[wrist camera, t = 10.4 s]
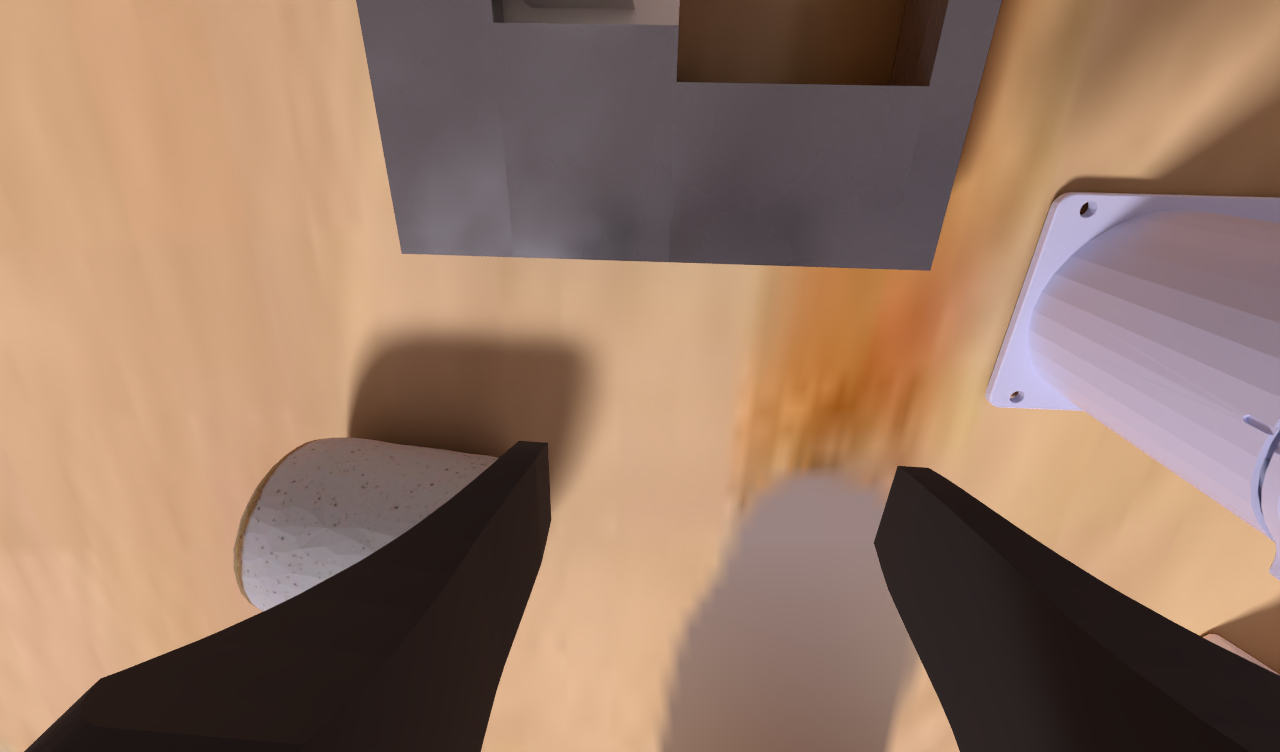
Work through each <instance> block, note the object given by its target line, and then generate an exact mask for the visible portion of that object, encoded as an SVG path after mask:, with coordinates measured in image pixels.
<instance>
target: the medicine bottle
mask: <svg viewBox="0 0 1280 752" xmlns="http://www.w3.org/2000/svg"><path fill="white" fill-rule="evenodd" d="M1203 638H1205V639H1207V640H1208V641H1210V642H1212V643H1214V644H1216V645H1219V646H1221V647H1223V648H1225V649H1227V650H1229V651H1231V652H1233V653H1235V654H1237V655H1239V656H1241V657H1243V658H1245V659H1247V660H1249V661H1251V662H1253V663H1255V664H1257V665H1259V666H1261V667H1263V668H1265V669H1267V670H1269V671H1271V672H1273V673H1275V674H1278V673H1277V672H1275V671H1273V670H1272V669H1270V668H1269V667H1267V666H1266V665H1264V664H1263V663H1261V662H1259V661H1258V660H1256V659H1255V658H1253V657H1252V656H1250V655H1248V654H1247V653H1245V652H1244V651H1242V650H1241V649H1239V648H1238V647H1236V646H1234V645H1233V644H1231V643H1230V642H1228V641H1227V640H1225V639H1224V638H1222V637H1220V636H1219V635H1216V634H1207V635H1205V636H1204V637H1203ZM1278 675H1280V674H1278Z"/></svg>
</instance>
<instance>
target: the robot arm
mask: <svg viewBox="0 0 1280 752" xmlns="http://www.w3.org/2000/svg"><path fill="white" fill-rule="evenodd" d="M1087 202H1088V204H1089V206H1088V209H1087V211H1086V212H1085V213H1084V214H1082V215H1080V209H1081V207H1082V206H1083V205H1084V204H1085V203H1087ZM1016 391H1018V394H1017V395H1016V396H1015V397H1013V398H1010V396H1011V395H1012V394H1013V393H1014V392H1016ZM985 397H986V399H987V401H989V402H990V403H991V404H992V405H994V406H996V407H1006V408H1029V409H1052V410H1076V411H1085V412H1086V413H1088V414H1089V415H1091V416H1092V417H1094V418H1095V419H1097V420H1098V421H1099V422H1101V423H1102V424H1104V425H1105V426H1107V427H1108V428H1110V429H1111V430H1113V431H1114V432H1116V433H1117V434H1118V435H1120V436H1121V437H1123V438H1124V439H1126V440H1127V441H1129V442H1130V443H1132V444H1133V445H1134V446H1136V447H1137V448H1139V449H1140V450H1142V451H1143V452H1145V453H1146V454H1148V455H1149V456H1150V457H1152V458H1153V459H1155V460H1156V461H1158V462H1159V463H1161V464H1162V465H1164V466H1165V467H1167V468H1168V469H1169V470H1171V471H1172V472H1174V473H1175V474H1177V475H1178V476H1180V477H1181V478H1183V479H1184V480H1185V481H1187V482H1188V483H1190V484H1191V485H1193V486H1194V487H1196V488H1197V489H1199V490H1200V491H1201V492H1203V493H1204V494H1206V495H1207V496H1209V497H1210V498H1212V499H1213V500H1215V501H1216V502H1218V503H1219V504H1220V505H1222V506H1223V507H1225V508H1226V509H1228V510H1229V511H1231V512H1232V513H1234V514H1235V515H1236V516H1238V517H1239V518H1241V519H1242V520H1244V521H1245V522H1247V523H1248V524H1250V525H1251V526H1253V527H1254V528H1255V529H1257V530H1258V531H1260V532H1261V533H1263V534H1264V535H1266V536H1267V537H1269V538H1270V539H1271V540H1273V541H1275V543H1276V555H1275V559H1274V561H1273V563H1272V565H1271V567H1270V570H1269V573H1270V574H1272V575H1273V576H1274V577H1276V578H1277V579H1278V580H1280V197H1246V196H1207V195H1169V194H1130V193H1091V192H1068V193H1064V194H1062V195H1060V196H1059V197H1057V198H1056V199H1055V200H1054V201H1053V203H1052V205H1051V207H1050V209H1049V212H1048V215H1047V218H1046V221H1045V224H1044V227H1043V230H1042V232H1041V235H1040V238H1039V241H1038V244H1037V247H1036V250H1035V252H1034V255H1033V258H1032V261H1031V264H1030V267H1029V270H1028V272H1027V275H1026V278H1025V281H1024V284H1023V287H1022V290H1021V293H1020V295H1019V298H1018V301H1017V304H1016V307H1015V310H1014V313H1013V315H1012V318H1011V321H1010V324H1009V327H1008V330H1007V333H1006V335H1005V338H1004V341H1003V344H1002V347H1001V350H1000V353H999V356H998V358H997V361H996V364H995V367H994V370H993V373H992V376H991V378H990V381H989V384H988V387H987V390H986V394H985ZM550 523H551V505H550V483H549V461H548V443H541V442H525V441H518V442H517V443H516V444H515V445H514V446H512V447H511V448H510V449H509V450H508V451H506V452H505V453H504V454H503V455H502V456H501V457H500V458H498V459H497V460H496V461H495V462H494V463H493V464H492V465H490V466H489V467H488V468H487V469H486V470H485V471H483V472H482V473H481V474H480V475H479V476H478V477H476V478H475V479H474V480H473V481H472V482H470V483H469V484H468V485H467V486H466V487H464V488H463V489H462V490H461V491H460V492H458V493H457V494H456V495H455V496H453V497H452V498H451V499H450V500H448V501H447V502H446V503H444V504H443V505H442V506H440V507H439V508H438V509H436V510H435V511H434V512H432V513H431V514H430V515H428V516H427V517H426V518H424V519H423V520H422V521H420V522H419V523H418V524H416V525H415V526H414V527H412V528H411V529H409V530H408V531H406V532H405V533H403V534H402V535H400V536H399V537H397V538H396V539H394V540H393V541H391V542H390V543H388V544H387V545H385V546H383V547H382V548H380V549H379V550H377V551H375V552H374V553H372V554H370V555H369V556H367V557H366V558H364V559H362V560H361V561H359V562H357V563H356V564H354V565H352V566H350V567H348V568H347V569H345V570H343V571H341V572H339V573H337V574H335V575H334V576H332V577H330V578H328V579H326V580H324V581H323V582H321V583H319V584H317V585H315V586H313V587H312V588H310V589H308V590H306V591H304V592H302V593H300V594H299V595H297V596H295V597H293V598H291V599H289V600H286V601H284V602H282V603H280V604H278V605H276V606H274V607H272V608H270V609H268V610H266V611H264V612H262V613H259V614H257V615H255V616H253V617H251V618H248V619H246V620H244V621H242V622H240V623H237V624H235V625H233V626H231V627H229V628H226V629H224V630H222V631H219V632H217V633H215V634H212V635H210V636H208V637H205V638H203V639H201V640H198V641H196V642H193V643H191V644H188V645H186V646H183V647H181V648H178V649H176V650H173V651H171V652H168V653H166V654H163V655H161V656H158V657H156V658H153V659H151V660H148V661H145V662H143V663H140V664H138V665H135V666H133V667H130V668H128V669H125V670H123V671H120V672H117V673H115V674H112V675H109V676H107V677H104V678H101V679H100V680H99V681H97V682H96V683H95V684H94V685H93V686H92V687H91V688H90V689H89V690H88V691H87V692H86V693H85V694H84V695H83V696H82V697H81V698H80V699H78V700H77V701H76V702H75V703H74V704H73V705H72V706H71V707H70V708H69V709H68V710H67V711H66V712H65V713H64V714H63V715H62V716H61V717H60V718H59V719H58V720H57V721H56V722H55V723H53V724H52V725H51V726H50V727H49V728H48V729H47V730H46V731H45V732H44V733H43V734H42V735H41V736H40V737H39V738H38V739H37V740H36V741H35V742H34V743H33V744H32V745H31V746H30V747H29V748H27V749H26V750H25V751H24V752H481V748H482V744H483V740H484V736H485V733H486V729H487V725H488V721H489V717H490V713H491V710H492V706H493V702H494V698H495V694H496V691H497V687H498V684H499V681H500V678H501V675H502V672H503V669H504V665H505V663H506V660H507V657H508V654H509V652H510V649H511V646H512V643H513V641H514V638H515V635H516V632H517V630H518V627H519V624H520V621H521V619H522V616H523V613H524V610H525V608H526V605H527V602H528V599H529V597H530V594H531V591H532V588H533V585H534V583H535V580H536V577H537V574H538V571H539V568H540V566H541V562H542V558H543V554H544V550H545V545H546V541H547V536H548V532H549V527H550ZM874 544H875V548H876V551H877V555H878V558H879V562H880V565H881V569H882V572H883V574H884V578H885V581H886V584H887V587H888V590H889V592H890V594H891V596H892V599H893V601H894V603H895V605H896V608H897V610H898V612H899V614H900V616H901V619H902V621H903V623H904V625H905V627H906V629H907V632H908V634H909V636H910V638H911V640H912V642H913V644H914V646H915V649H916V651H917V653H918V655H919V657H920V659H921V661H922V663H923V666H924V668H925V670H926V672H927V674H928V676H929V678H930V681H931V683H932V685H933V687H934V689H935V691H936V693H937V695H938V698H939V700H940V702H941V704H942V707H943V709H944V711H945V714H946V716H947V719H948V721H949V723H950V726H951V728H952V731H953V733H954V736H955V739H956V742H957V745H958V747H959V750H960V752H1280V675H1278V674H1275V673H1273V672H1271V671H1269V670H1267V669H1265V668H1263V667H1261V666H1259V665H1257V664H1255V663H1253V662H1251V661H1249V660H1247V659H1245V658H1243V657H1241V656H1239V655H1237V654H1235V653H1233V652H1231V651H1229V650H1227V649H1225V648H1223V647H1221V646H1219V645H1216V644H1214V643H1212V642H1210V641H1208V640H1207V639H1205V638H1203V637H1201V636H1199V635H1197V634H1195V633H1193V632H1191V631H1189V630H1187V629H1185V628H1184V627H1182V626H1180V625H1178V624H1176V623H1174V622H1172V621H1171V620H1169V619H1167V618H1165V617H1163V616H1162V615H1160V614H1158V613H1156V612H1154V611H1153V610H1151V609H1149V608H1147V607H1145V606H1144V605H1142V604H1140V603H1138V602H1136V601H1135V600H1133V599H1131V598H1129V597H1127V596H1126V595H1124V594H1122V593H1120V592H1119V591H1117V590H1115V589H1114V588H1112V587H1110V586H1109V585H1107V584H1105V583H1104V582H1102V581H1100V580H1099V579H1097V578H1095V577H1094V576H1092V575H1091V574H1089V573H1087V572H1086V571H1084V570H1083V569H1081V568H1079V567H1078V566H1076V565H1075V564H1073V563H1071V562H1070V561H1068V560H1067V559H1065V558H1063V557H1062V556H1060V555H1059V554H1057V553H1055V552H1054V551H1052V550H1051V549H1049V548H1048V547H1046V546H1045V545H1043V544H1042V543H1040V542H1039V541H1037V540H1036V539H1034V538H1033V537H1031V536H1030V535H1028V534H1027V533H1025V532H1024V531H1022V530H1021V529H1019V528H1018V527H1016V526H1015V525H1013V524H1012V523H1010V522H1009V521H1008V520H1006V519H1005V518H1003V517H1002V516H1000V515H999V514H997V513H996V512H994V511H993V510H992V509H990V508H989V507H987V506H986V505H984V504H983V503H981V502H980V501H979V500H977V499H976V498H974V497H973V496H971V495H970V494H968V493H967V492H965V491H964V490H963V489H961V488H960V487H958V486H957V485H955V484H954V483H952V482H951V481H949V480H947V479H946V478H944V477H943V476H941V475H940V474H938V473H936V472H934V471H933V470H931V469H929V468H921V467H906V466H898V467H897V470H896V473H895V477H894V480H893V483H892V486H891V489H890V493H889V496H888V499H887V502H886V506H885V509H884V512H883V515H882V519H881V522H880V525H879V528H878V531H877V535H876V538H875V541H874Z"/></svg>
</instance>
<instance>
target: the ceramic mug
mask: <svg viewBox="0 0 1280 752" xmlns="http://www.w3.org/2000/svg"><path fill="white" fill-rule="evenodd" d="M497 459H498V457H493V456H489V455H478V454H468V453H462V452H456V451H451V450H444V449H436V448H428V447H419V446H410V445H402V444H394V443H388V442H383V441H377V440H371V439H362V438H354V437H352V438H327V439H319V440H314V441H310V442H307V443H305V444H303V445H301V446H299V447H297V448H296V449H294V450H293V451H291V452H290V453H288V454H287V455H285V456H284V457H283V458H282V459H281V460H280V461H279V462H278V463H277V464H275V465H274V466H273V467H272V468H271V470H270V471H269V472H268V473H267V474H266V476H265V477H264V478H263V479H262V481H261V482H260V483H259V485H258V486H257V488H256V489H255V491H254V493H253V495H252V497H251V498H250V500H249V502H248V504H247V507H246V509H245V511H244V513H243V515H242V518H241V521H240V525H239V529H238V533H237V538H236V542H235V546H234V571H235V576H236V581H237V584H238V586H239V589H240V591H241V593H242V595H243V596H244V597H245V598H246V599H247V600H248V602H249V603H250V604H252V605H253V606H255V607H257V608H258V609H260V610H262V611H266V610H268V609H270V608H272V607H274V606H276V605H278V604H280V603H282V602H284V601H286V600H289V599H291V598H293V597H295V596H297V595H299V594H300V593H302V592H304V591H306V590H308V589H310V588H312V587H313V586H315V585H317V584H319V583H321V582H323V581H324V580H326V579H328V578H330V577H332V576H334V575H335V574H337V573H339V572H341V571H343V570H345V569H347V568H348V567H350V566H352V565H354V564H356V563H357V562H359V561H361V560H362V559H364V558H366V557H367V556H369V555H370V554H372V553H374V552H375V551H377V550H379V549H380V548H382V547H383V546H385V545H387V544H388V543H390V542H391V541H393V540H394V539H396V538H397V537H399V536H400V535H402V534H403V533H405V532H406V531H408V530H409V529H411V528H412V527H414V526H415V525H416V524H418V523H419V522H420V521H422V520H423V519H424V518H426V517H427V516H428V515H430V514H431V513H432V512H434V511H435V510H436V509H438V508H439V507H440V506H442V505H443V504H444V503H446V502H447V501H448V500H450V499H451V498H452V497H453V496H455V495H456V494H457V493H458V492H460V491H461V490H462V489H463V488H464V487H466V486H467V485H468V484H469V483H470V482H472V481H473V480H474V479H475V478H476V477H478V476H479V475H480V474H481V473H482V472H483V471H485V470H486V469H487V468H488V467H489V466H490V465H492V464H493V463H494V462H495V461H496V460H497Z"/></svg>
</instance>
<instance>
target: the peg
mask: <svg viewBox="0 0 1280 752" xmlns="http://www.w3.org/2000/svg"><path fill="white" fill-rule="evenodd" d="M502 2H503V15H504V23H554V24H632V25H679V5H680V0H502Z"/></svg>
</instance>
